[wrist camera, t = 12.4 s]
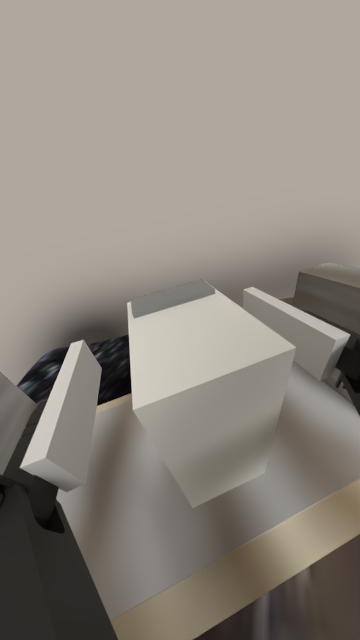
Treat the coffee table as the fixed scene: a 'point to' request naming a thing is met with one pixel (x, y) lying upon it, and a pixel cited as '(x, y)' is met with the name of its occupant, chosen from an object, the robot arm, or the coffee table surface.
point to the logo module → (206, 386)
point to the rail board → (220, 512)
